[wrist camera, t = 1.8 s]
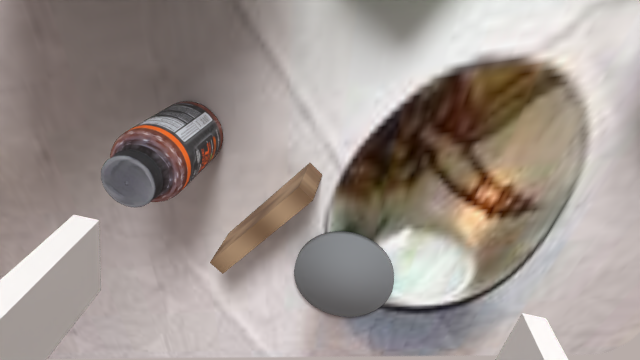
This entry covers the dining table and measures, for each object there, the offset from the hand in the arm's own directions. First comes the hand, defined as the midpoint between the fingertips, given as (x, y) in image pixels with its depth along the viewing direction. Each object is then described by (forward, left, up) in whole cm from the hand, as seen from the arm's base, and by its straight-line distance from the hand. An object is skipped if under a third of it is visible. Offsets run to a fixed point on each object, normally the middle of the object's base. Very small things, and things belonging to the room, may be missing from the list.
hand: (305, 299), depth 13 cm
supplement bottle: (-12, -10, -26) cm, 30 cm away
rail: (-3, -14, -25) cm, 29 cm away
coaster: (+7, -17, -25) cm, 31 cm away
